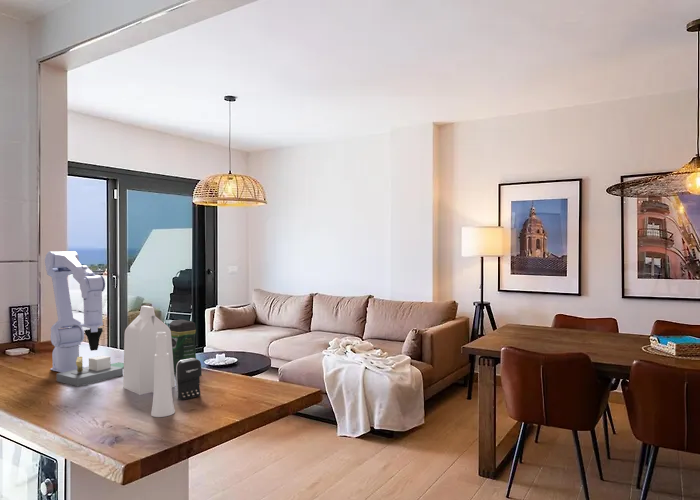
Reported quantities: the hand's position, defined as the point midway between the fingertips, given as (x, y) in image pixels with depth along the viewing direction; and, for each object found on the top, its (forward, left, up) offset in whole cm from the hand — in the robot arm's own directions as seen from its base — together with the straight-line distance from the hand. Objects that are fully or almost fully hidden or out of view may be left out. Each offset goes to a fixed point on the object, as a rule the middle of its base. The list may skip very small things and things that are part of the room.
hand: (93, 350), depth 174 cm
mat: (-9, +13, -10) cm, 18 cm away
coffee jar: (+19, +22, -10) cm, 31 cm away
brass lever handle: (+1, -5, -7) cm, 9 cm away
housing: (-2, -1, -10) cm, 10 cm away
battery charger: (+47, +2, -10) cm, 48 cm away
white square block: (-2, +3, -7) cm, 8 cm away
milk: (+26, +3, -10) cm, 28 cm away
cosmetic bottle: (+52, -11, -10) cm, 54 cm away
